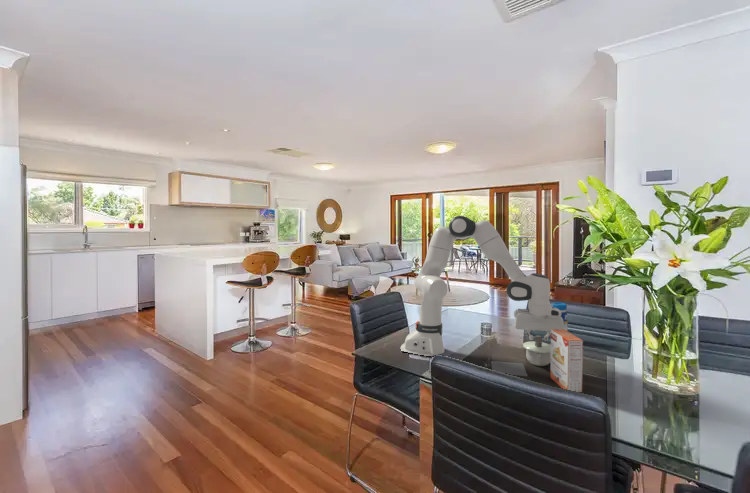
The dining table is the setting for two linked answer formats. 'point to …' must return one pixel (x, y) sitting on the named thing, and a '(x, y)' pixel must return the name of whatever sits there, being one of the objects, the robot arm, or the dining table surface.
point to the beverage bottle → (562, 313)
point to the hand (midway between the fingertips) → (538, 339)
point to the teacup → (538, 358)
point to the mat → (509, 368)
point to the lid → (537, 345)
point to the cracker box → (566, 360)
